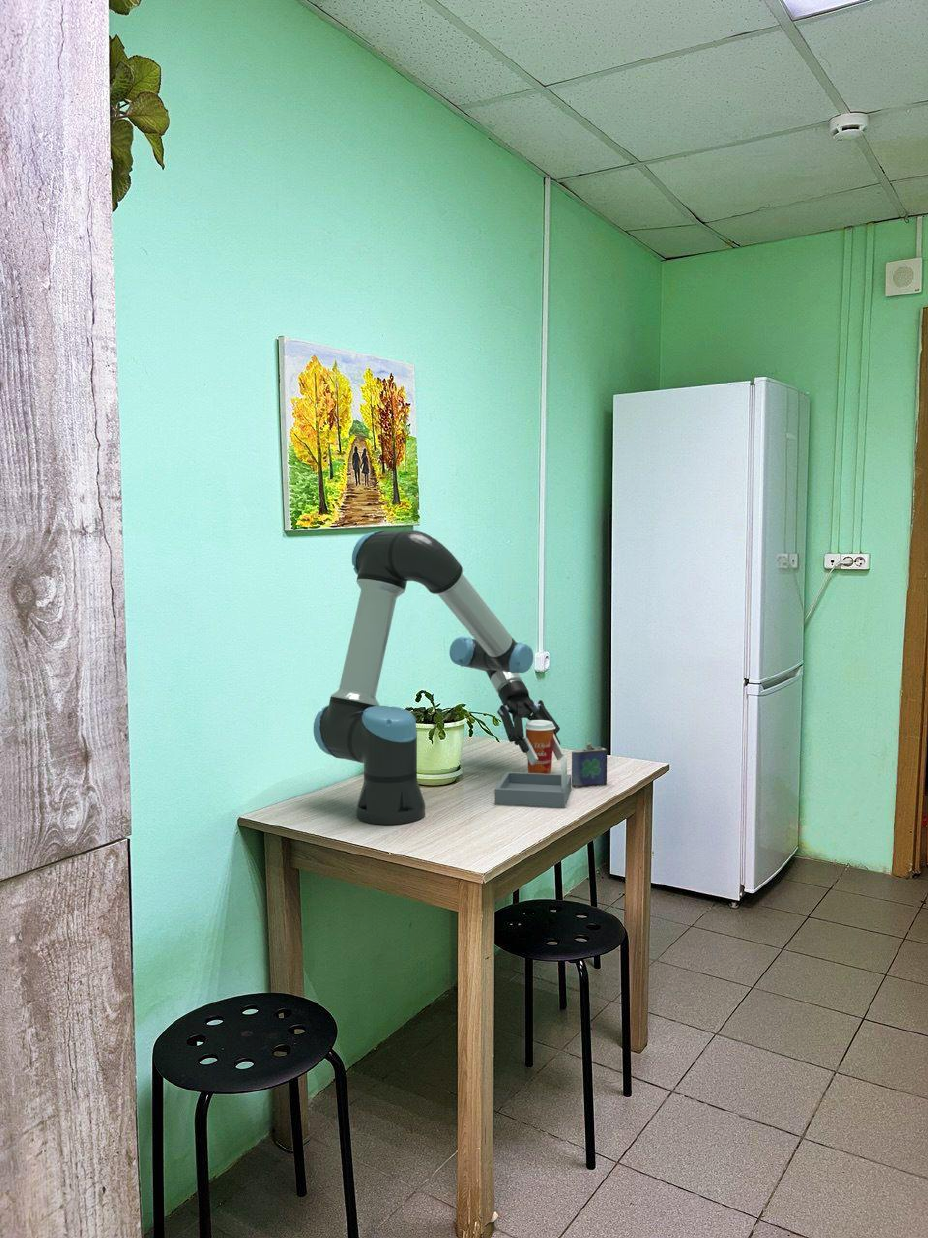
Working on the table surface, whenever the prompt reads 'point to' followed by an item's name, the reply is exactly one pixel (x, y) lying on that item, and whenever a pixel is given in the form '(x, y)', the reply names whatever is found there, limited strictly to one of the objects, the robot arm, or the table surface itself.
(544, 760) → the paper cup
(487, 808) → the table surface
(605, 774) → the flask
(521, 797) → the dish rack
